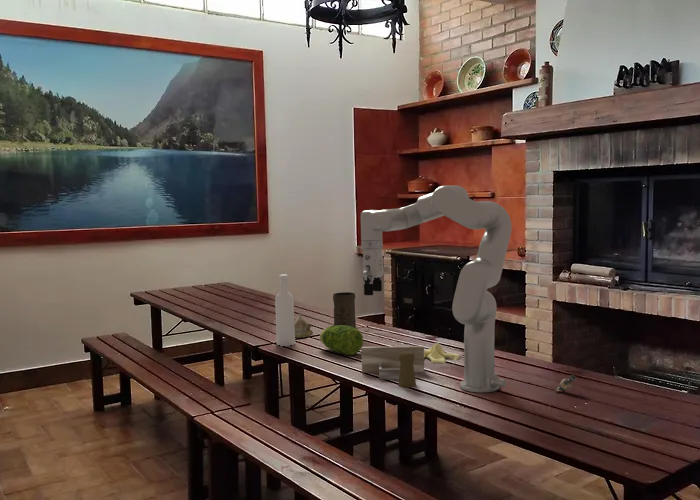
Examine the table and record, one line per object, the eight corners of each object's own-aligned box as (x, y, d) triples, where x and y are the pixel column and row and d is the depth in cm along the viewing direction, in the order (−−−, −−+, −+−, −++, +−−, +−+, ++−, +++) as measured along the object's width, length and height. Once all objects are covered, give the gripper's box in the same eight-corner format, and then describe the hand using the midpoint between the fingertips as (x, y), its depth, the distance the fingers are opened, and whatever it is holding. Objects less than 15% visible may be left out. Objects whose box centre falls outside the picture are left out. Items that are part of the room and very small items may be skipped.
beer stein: (357, 339, 281) (356, 293, 281) (332, 340, 282) (331, 294, 281) (357, 334, 297) (356, 291, 296) (334, 334, 297) (333, 291, 297)
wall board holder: (362, 371, 230) (361, 346, 230) (424, 371, 229) (423, 346, 228) (361, 379, 220) (360, 353, 220) (425, 379, 219) (425, 353, 218)
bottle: (298, 343, 277) (296, 274, 274) (287, 347, 270) (285, 276, 268) (284, 341, 281) (281, 273, 279) (272, 345, 275) (270, 275, 272)
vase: (579, 392, 201) (579, 374, 200) (571, 397, 197) (571, 379, 196) (563, 388, 205) (562, 370, 204) (555, 394, 201) (554, 375, 200)
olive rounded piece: (415, 387, 210) (414, 354, 209) (396, 387, 211) (396, 354, 210) (417, 382, 216) (416, 350, 215) (399, 381, 217) (398, 349, 216)
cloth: (433, 350, 262) (433, 335, 262) (471, 357, 249) (470, 342, 248) (396, 360, 247) (395, 344, 247) (433, 369, 234) (433, 352, 233)
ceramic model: (288, 332, 301) (287, 311, 300) (312, 331, 302) (311, 310, 302) (288, 338, 287) (288, 316, 286) (314, 337, 289) (313, 315, 288)
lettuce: (333, 345, 271) (332, 319, 270) (367, 353, 256) (367, 325, 255) (312, 350, 264) (311, 323, 263) (346, 359, 249) (345, 330, 248)
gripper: (374, 247, 219) (375, 297, 220) (389, 243, 235) (390, 289, 236) (353, 247, 221) (354, 296, 223) (369, 243, 237) (370, 289, 239)
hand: (373, 293), depth 229 cm, fingers open, 9 cm apart
